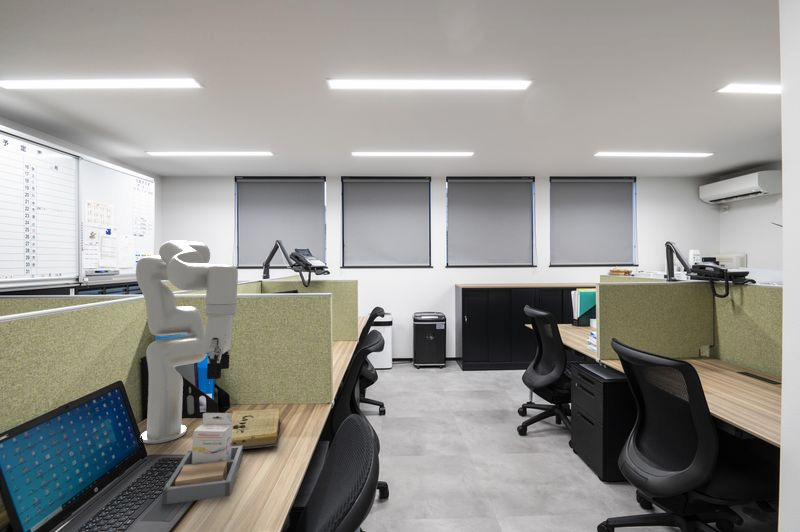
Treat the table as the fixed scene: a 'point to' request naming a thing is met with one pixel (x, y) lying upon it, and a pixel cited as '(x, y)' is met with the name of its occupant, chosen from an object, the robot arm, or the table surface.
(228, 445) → the ink cartridge box
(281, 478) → the table surface
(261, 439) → the book
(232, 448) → the rack
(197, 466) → the offcut top
